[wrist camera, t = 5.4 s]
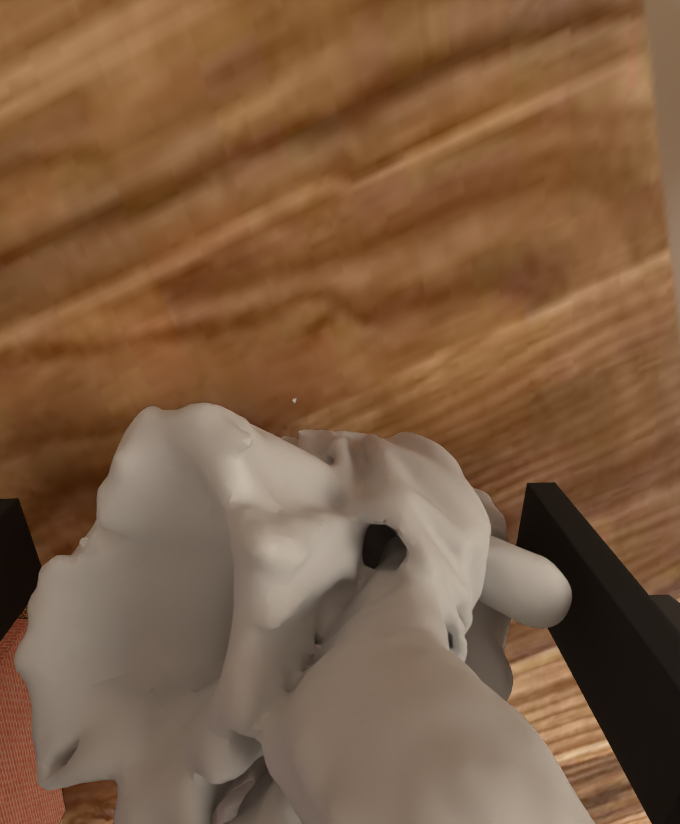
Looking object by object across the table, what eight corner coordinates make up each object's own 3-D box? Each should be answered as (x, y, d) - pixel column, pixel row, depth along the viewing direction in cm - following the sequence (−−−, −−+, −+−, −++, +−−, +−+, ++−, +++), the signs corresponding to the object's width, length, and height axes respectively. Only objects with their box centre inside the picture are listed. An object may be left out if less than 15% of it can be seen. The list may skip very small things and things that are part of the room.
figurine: (868, 1714, 1) (787, 759, 10) (193, 222, 8) (499, 423, 16) (-126, 1504, 4) (481, 898, 13) (-21, 532, 10) (336, 565, 19)
